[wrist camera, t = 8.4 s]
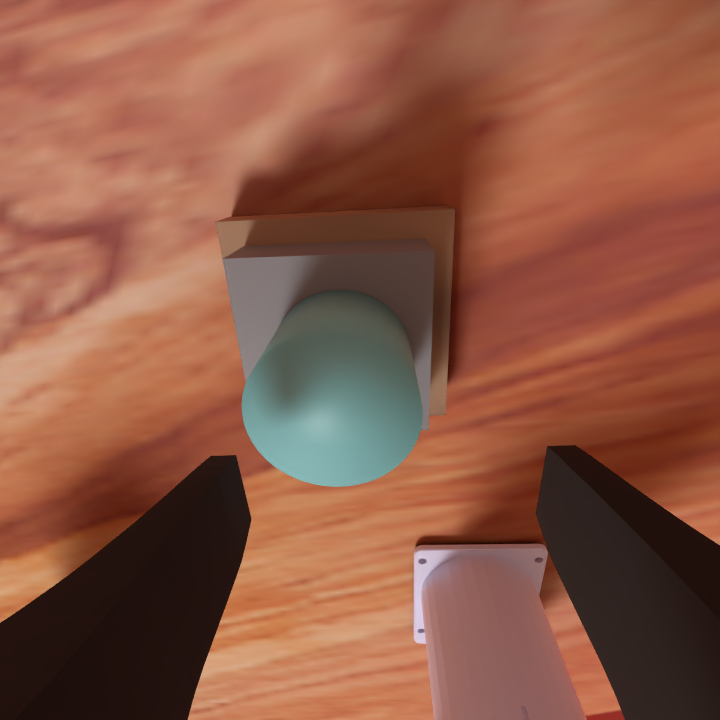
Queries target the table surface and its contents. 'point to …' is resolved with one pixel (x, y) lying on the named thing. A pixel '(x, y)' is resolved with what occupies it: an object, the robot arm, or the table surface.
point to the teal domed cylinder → (335, 392)
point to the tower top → (333, 272)
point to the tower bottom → (367, 227)
